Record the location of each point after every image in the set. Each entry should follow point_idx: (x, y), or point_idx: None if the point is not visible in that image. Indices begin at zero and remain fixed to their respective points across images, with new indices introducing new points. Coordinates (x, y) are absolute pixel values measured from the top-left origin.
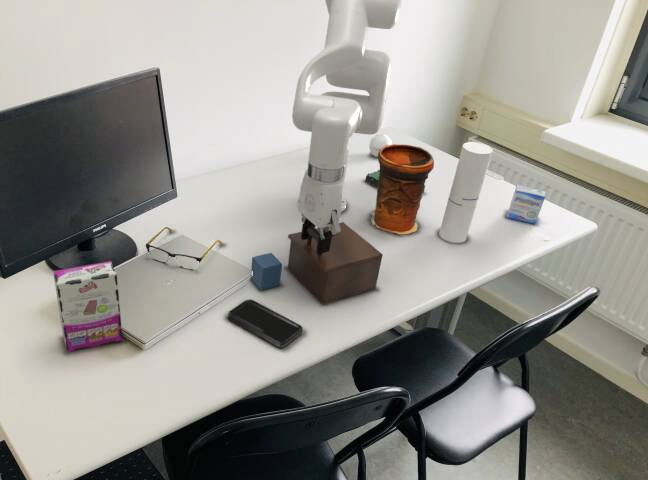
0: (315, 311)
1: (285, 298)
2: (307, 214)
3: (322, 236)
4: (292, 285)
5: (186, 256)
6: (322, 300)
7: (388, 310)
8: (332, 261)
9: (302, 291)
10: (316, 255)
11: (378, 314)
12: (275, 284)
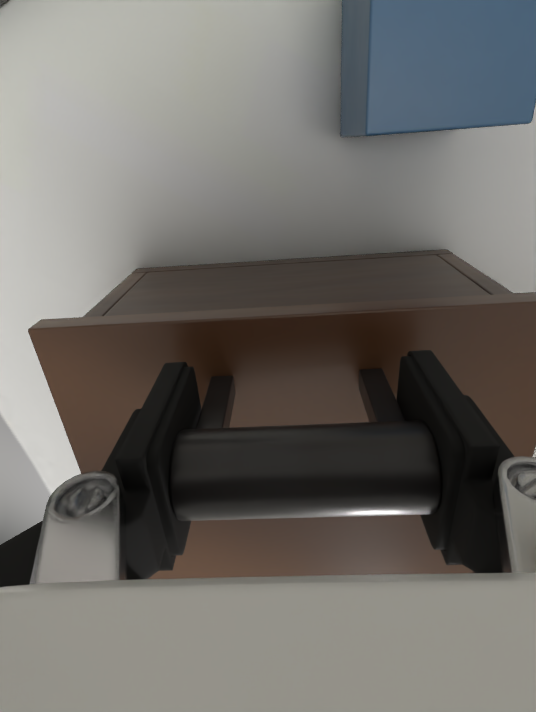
0: (93, 209)
1: (225, 109)
2: (371, 705)
3: (73, 505)
4: (314, 204)
5: None
6: (140, 272)
7: (62, 458)
8: (120, 416)
9: (253, 228)
10: (215, 358)
11: (44, 422)
12: (342, 104)
